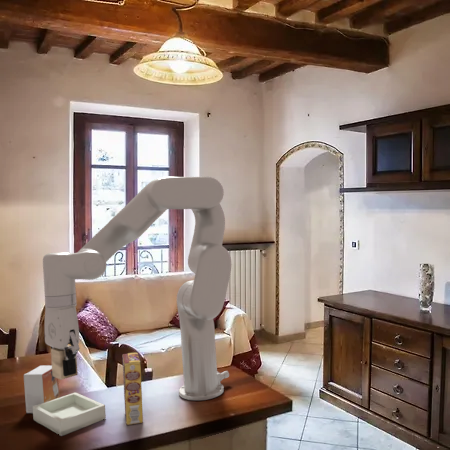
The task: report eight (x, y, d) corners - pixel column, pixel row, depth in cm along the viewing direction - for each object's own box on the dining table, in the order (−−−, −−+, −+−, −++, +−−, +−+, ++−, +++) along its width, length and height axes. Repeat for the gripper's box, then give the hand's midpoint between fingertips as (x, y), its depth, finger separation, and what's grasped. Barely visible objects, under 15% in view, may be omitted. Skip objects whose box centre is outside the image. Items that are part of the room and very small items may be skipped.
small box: (44, 414, 129) (41, 374, 129) (25, 413, 130) (22, 374, 130) (60, 402, 137) (58, 364, 137) (42, 401, 138) (40, 364, 138)
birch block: (68, 371, 127) (67, 344, 127) (77, 374, 124) (76, 347, 124) (52, 376, 124) (50, 348, 124) (60, 379, 121) (59, 351, 121)
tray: (76, 404, 134) (75, 392, 134) (105, 418, 124) (104, 404, 123) (33, 420, 125) (32, 406, 125) (61, 436, 115) (60, 421, 115)
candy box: (144, 423, 120) (140, 361, 119) (126, 425, 118) (122, 363, 118) (141, 409, 128) (137, 351, 128) (125, 412, 127) (121, 353, 127)
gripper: (31, 300, 127) (35, 370, 127) (63, 307, 115) (67, 383, 115) (59, 296, 132) (62, 363, 133) (91, 301, 120) (95, 375, 121)
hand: (64, 372), depth 124 cm, fingers closed on birch block, 4 cm apart
